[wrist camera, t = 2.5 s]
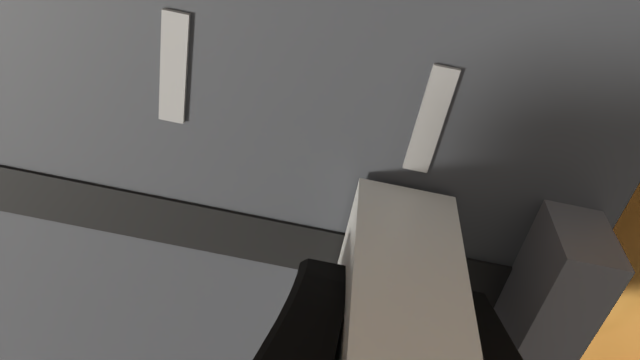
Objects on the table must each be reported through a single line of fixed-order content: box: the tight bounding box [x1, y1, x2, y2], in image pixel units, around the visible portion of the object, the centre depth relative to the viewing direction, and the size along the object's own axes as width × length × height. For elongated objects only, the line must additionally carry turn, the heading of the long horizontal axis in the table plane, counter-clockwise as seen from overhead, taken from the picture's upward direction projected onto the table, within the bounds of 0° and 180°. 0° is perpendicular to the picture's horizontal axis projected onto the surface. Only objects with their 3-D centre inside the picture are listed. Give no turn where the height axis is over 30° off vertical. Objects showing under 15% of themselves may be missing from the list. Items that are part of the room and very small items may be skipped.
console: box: [0, 0, 640, 360], centre depth 11 cm, size 16×16×4 cm
